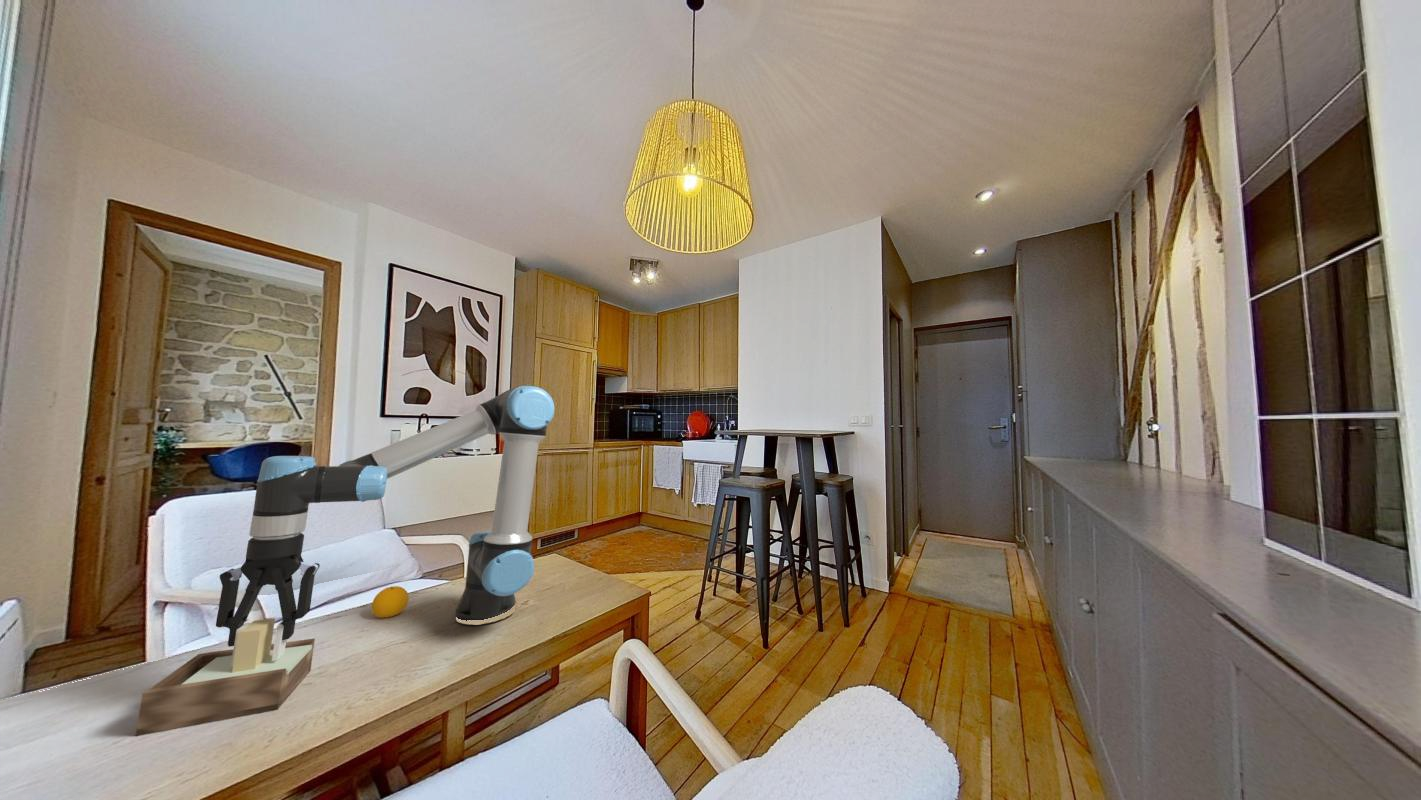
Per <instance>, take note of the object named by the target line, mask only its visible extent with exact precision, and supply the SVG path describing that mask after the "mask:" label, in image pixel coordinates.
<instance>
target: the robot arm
mask: <svg viewBox="0 0 1421 800" xmlns="http://www.w3.org/2000/svg"><path fill="white" fill-rule="evenodd" d="M555 410H556V409H555V403H554V399H553V398H552V397H551V395H550V394H549V393H548V392H547V391H546V390H545V389H543V388H541V387H538V386H533V385H521V386H518V387H515V388H511V389H507V390H505V391H504V392H502V393H500V394H498V395H497V396H495V397H492V398H491V399H489V400H487V401H485V402H483V403H480V404H478V405H476V409H474V410H472V411H470V412H468V413H465V414H463V415H459V416H458V417H455V418H452V419H450V420H447V421H445V422H443V423H440V424H438V425H436V426H433V427H431V428H428V429H426V430H424V431H421V432H418V433H416V434H414V435H412V436H411V435H410V436H409V437H407V438H406V437H405V438H403V439H402V440H399V441H397V442H394V443H391V444H389V445H387V446H384V447H381V448H380V449H377V450H374V451H372V452H370V453H367V454H366V455H362V456H360V457H357V458H354V459H352V460H347V461H344V462H342V463H341V464H339V465H335V466H333V465H331V466H329V465H328V466H327V465H326V466H325V465H323V466H321V465H317V463H316V459H315V457H314V456H308V455H307V456H305V455H302V456H301V455H276V456H275V455H274V456H270V457H267V458H265V459H264V460H263V461H262V462H261V465H260V466H261V467H260V471H259V475H258V479H257V480H256V491H255V497H254V498H255V499H254V504H253V511H252V517H251V521H250V522H251V523H250V529H249V534H248V535H249V536H250V537H251V538H250V539H249V540H248V541H247V542H248V543H247V548H246V554H245V561H244V563H243V564H242V565H241V567H237V568H231V569H228V570H226V571H224V572H223V573H220V574H219V579H220V583H221V585H222V587H221V593H220V596H219V597H220V598H219V604H218V609H217V616H216V622H215V626H216V628H228V629H229V635H228V640H227V645H228V646H227V647H229V648H230V647H233V655H232V662H231V667H232V666H233V663H234V656H235V649H236V643H237V636H238V632H240V631H241V630H242V629H244V628H245V627H246V626H248V625H249V624H250V623H251V622H250V623H249V622H248V623H246V622H247V621H249V619H248V617H249V615H250V613H251V610H252V608H253V606H254V605H255V603H256V600H257V598H258V596H259V594H260V592H261V590H262V588H263V587H264V586H266V585H269V586H274V588H275V590H276V591H277V595H278V596H277V597H278V601H279V602H278V603H279V606H280V613H281V618H282V621H280V622H279V623H278V624H277V625H276V631H275V638H274V643H273V644H274V649H273V656H272V661H275V660H278V659H279V658H280V657H281V656H282V655H283V654H284V652H285V646H286V642H287V640H289V639H290V638H291V637H292V636H293V635H294V632H295V627H296V620H299V619H302V618H304V617H305V616H306V615H307V614H308V613H310V611H311V604H312V599H313V598H312V597H313V591H314V590H313V589H314V582H315V581H314V580H315V577H316V576H315V575H316V574H317V571H318V570H319V569H320V567H321V564H320V563H317V562H315V563H313V564H312V563H308V562H304V559H303V558H302V557H303V556H302V553H303V547H304V540H305V535H304V534H303V533H304V532H305V530H306V526H307V525H306V524H307V519H308V512H309V505H310V504H314V503H315V504H320V503H341V502H366V501H375V500H376V501H377V500H381V499H382V498H383V497H384V496H385V492H386V487H387V480H388V479H390V478H393V477H394V476H396V475H399V474H401V473H404V472H406V471H408V470H410V469H412V468H415V467H417V466H419V465H422V464H424V463H426V462H429V461H431V460H432V459H436V458H438V457H439V456H442V455H444V454H446V453H448V452H450V451H451V452H452V451H453V450H455V449H457V448H460V447H462V446H463V445H466V444H468V443H471V442H473V441H476V440H477V439H481V437H484V436H486V435H493V436H494V435H497V434H499V436H501V437H502V439H503V440H504V441H503V448H502V455H501V462H500V468H499V469H500V471H499V474H498V475H499V477H498V484H497V491H496V499H495V504H494V510H493V511H494V512H493V518H492V519H493V520H492V524H491V525H492V526H491V530H483V531H479V532H475V533H473V534H472V535H471V536H470V539H469V544H468V555H467V556H468V557H467V566H466V567H467V568H466V578H465V587H464V591H463V592H462V595H461V596H460V600H459V601H458V604H457V606H456V609H455V614H454V617H455V616H456V617H457V618H458V619H461V620H466V621H467V620H484V619H488V618H492V617H495V616H498V615H500V614H502V613H505V612H507V611H508V610H510V609H511V608H512V607H513V606H514V605H515V603H516V604H517V600H516V596H515V594H516V593H518V592H520V591H521V590H522V589H523V588H524V587H525V586H526V585H528V583H530V581H531V579H532V577H533V575H534V573H535V561H534V558H533V556H532V555H531V552H532V546H533V536H532V534H531V533H529V532H528V529H529V528H528V527H529V521H530V520H529V519H530V513H531V506H532V499H533V498H532V497H533V490H534V483H535V476H536V475H535V473H536V467H537V458H538V451H539V444H540V442H541V441H543V440H544V439H545V438H546V435H547V430H548V425H549V423H550V422H552V420H553V418H554V416H555ZM298 570H300V575H301V576H302V577H301V579H300V585H299V591H298V592H299V593H298V599H297V600H298V601H297V603H296V598H295V593H294V588H293V582H294V580H293V575H294V574H295V573H296V572H297V571H298ZM242 574H243V575H244V576H245V577H246V579H247V580H248V581H249V582H248V584H247V586H246V588H245V590H244V591H245V592H244V595H243V597H242V598H241V601H240V603H239V605H238V607H237V609H236V604H237V598H238V593H239V587H240V579H241V578H242V576H243V575H242ZM235 610H236V611H235Z"/></svg>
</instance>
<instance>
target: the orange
mask: <svg viewBox="0 0 1421 800" xmlns="http://www.w3.org/2000/svg"><path fill="white" fill-rule="evenodd" d="M409 598H410V597H409V593H408V590H406V589H405V588H403V587H401V586H398V585H397V586H396V585H394V586H389V587H386V588H384V589H382V590H381V591H379V592H378V593H377V594H376V595H375V597H374V599H373V601H372V603H371V611H372V614H374V616H376V617H377V618H382V619H383V618H384V617H385V618H391V617H394V615H395V616H397V615H399V614H401V613H402V612H403V611H404V610H405V608H407V605H408V603H409Z"/></svg>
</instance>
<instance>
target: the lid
mask: <svg viewBox="0 0 1421 800" xmlns="http://www.w3.org/2000/svg"><path fill="white" fill-rule="evenodd" d="M275 620H276V618H268V619H260V620H253V621H251V622H250V624H249V625H248V626H246V627H245V628H244V629H242V630H241V631H240V632H238V636H237V643H236V649H235V656H234V663H233V666H232V667H231V662H232V655H231V656H224V657H217V658H215V659H214V660H213V661H211V662H210V663H209V664H207V665H206V666H205V667H203V668H202V669H201V670H199V671H198V672H197V673H195V674H194V675H193V676H192V677H190V678H189V679H188V680H186V681H185V682H184V683H182V684H188V683H195V682H201V681H208V680H214V679H221V678H227V677H234V676H240V675H247V674H253V673H260V672H266V671H273V670H279V669H286V674H285V675H287V674H288V673H289V672H290V671H291V670H292V669H293V668H294V667H295V666H296V665H297V664H298V663H299V662H300V661H301V659H302V658H303V657H304V656H305V655H306V654H307V653H308V652H309V651H310V650H311V649H312V645H305V646H298V647H290V648H285V652H284V654H283V655H282V656H281V657H280V658H279V659H278V660H275V661H272V656H273V650H271V644H273V643H272V642H273V634H274V630H275V629H274V628H275ZM182 684H181V685H182Z"/></svg>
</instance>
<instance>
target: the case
mask: <svg viewBox="0 0 1421 800" xmlns="http://www.w3.org/2000/svg"><path fill="white" fill-rule="evenodd" d="M315 639H316V638H310V639H309V638H308V639H302V640H294V641H293V640H292V641H286V646H285V648H290V647H298V646H305V645H312V649H311V650H310V651H309V652H308V653H307V654H306V655H305V656H304V657H303V658H302V659H301V661H300V662H299V663H298V664H297V665H296V666H295V667H294V668H293V669H292V670H291V671H290V672H289V673H288V674H287V675H285V674H286V669H279V670H273V671H266V672H260V673H253V674H247V675H240V676H234V677H227V678H221V679H214V680H208V681H201V682H195V683H188V684H182V683H184V682H185V681H186V680H188V679H189V678H190V677H192V676H193V675H194V674H195V673H197V672H198V671H199V670H201V669H202V668H203V667H205V666H206V665H207V664H209V663H210V662H211V661H213V660H214V659H215V658H217V657H224V656H231V655H233V649H234V648H233V649H225V650H217V651H212V652H211V651H209V652H203V653H198V654H197V655H195V656H194V657H192V658H191V659H190V660H188V661H187V662H185V663H183V664H182V665H181V666H179V667H178V668H177V669H175V670H174V671H173V672H171V673H169V674H168V675H167V676H165V677H164V678H163V679H162V680H160V681H159V682H157V683H156V684H155V685H153V686H151V687H149V689H147V690H145V692H143V693H142V694H141V695H142V696H141V701H140V705H139V706H140V707H139V713H138V719H137V724H136V730H135V735H134V736H135V737H138V736H143V735H148V734H155V733H160V732H164V731H171V730H176V729H181V728H186V727H192V726H197V725H203V724H208V723H212V722H213V723H214V722H217V721H223V720H230V719H235V718H240V717H245V716H251V715H257V714H261V713H268V712H272V711H277V710H279V709H280V708H281V706H282V705H283V704H284V703H285V702H286V701H287V699H288V698H289V697H290V696H291V694H292V693H293V692H295V690H296V689H297V688H298V686H299V685H300V684H302V681H303V680H304V679H305V678H306V677H307V676H308V674H309V673H310V672H311V671H312V664H313V663H312V662H313V656H314V649H315V641H316V640H315ZM273 649H274V643H271V650H273ZM181 684H182V685H181Z"/></svg>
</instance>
